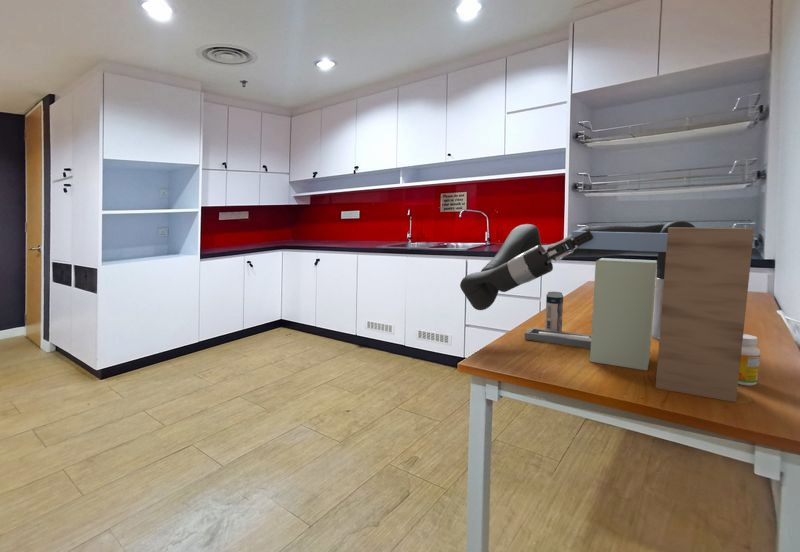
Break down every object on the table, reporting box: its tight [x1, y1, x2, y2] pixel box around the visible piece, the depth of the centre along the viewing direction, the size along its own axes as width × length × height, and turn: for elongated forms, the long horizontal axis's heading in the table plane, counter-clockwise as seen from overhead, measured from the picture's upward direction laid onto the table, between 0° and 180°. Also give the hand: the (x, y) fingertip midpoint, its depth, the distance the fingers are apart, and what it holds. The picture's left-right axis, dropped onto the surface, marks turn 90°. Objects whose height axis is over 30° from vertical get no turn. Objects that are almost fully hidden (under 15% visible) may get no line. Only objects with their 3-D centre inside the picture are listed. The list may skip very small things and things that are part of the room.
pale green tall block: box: [589, 257, 658, 371], centre depth 105 cm, size 10×12×24 cm
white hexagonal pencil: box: [539, 332, 591, 341], centre depth 123 cm, size 3×2×16 cm
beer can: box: [544, 291, 564, 332], centre depth 132 cm, size 5×5×12 cm
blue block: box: [571, 230, 668, 253], centre depth 103 cm, size 4×24×4 cm, turn 58°
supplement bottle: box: [738, 333, 761, 386], centre depth 92 cm, size 5×5×10 cm
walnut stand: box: [655, 227, 755, 403], centre depth 87 cm, size 8×13×32 cm, turn 58°
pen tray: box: [524, 327, 591, 350], centre depth 122 cm, size 7×22×2 cm, turn 58°
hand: (592, 234), depth 107 cm, fingers closed on blue block, 4 cm apart
